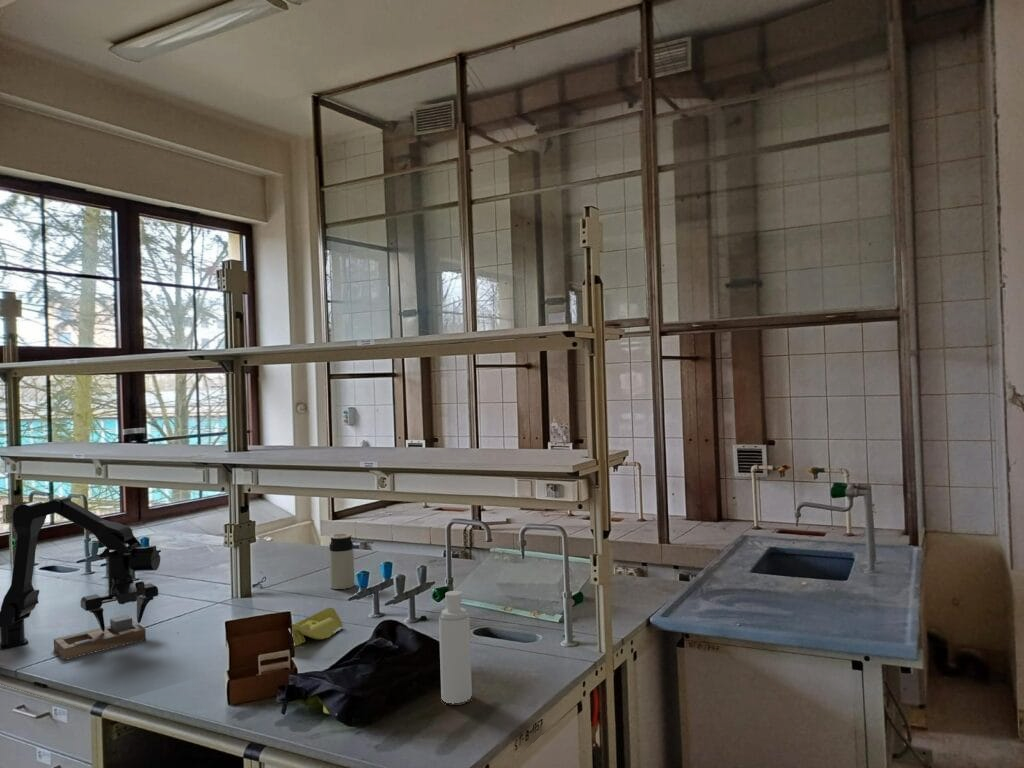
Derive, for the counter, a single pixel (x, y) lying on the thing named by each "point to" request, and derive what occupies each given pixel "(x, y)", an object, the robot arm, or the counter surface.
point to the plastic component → (316, 626)
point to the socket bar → (96, 640)
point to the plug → (120, 624)
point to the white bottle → (455, 650)
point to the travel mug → (341, 561)
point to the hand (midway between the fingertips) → (121, 627)
